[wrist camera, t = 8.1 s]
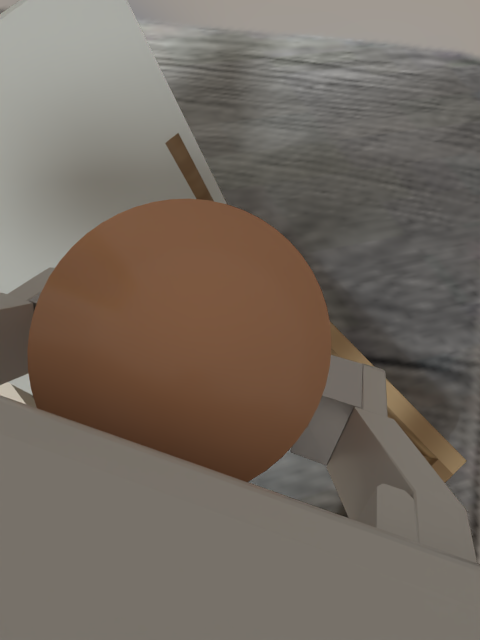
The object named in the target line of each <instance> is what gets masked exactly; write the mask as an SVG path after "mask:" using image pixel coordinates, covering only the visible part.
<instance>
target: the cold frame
mask: <svg viewBox="0 0 480 640" xmlns="http://www.w3.org/2000/svg"><path fill="white" fill-rule="evenodd" d="M165 144H166V146H167V147H168V149H169V151H170V153H171V154H172V156H173V158H174V160H175V162H176V163H177V165H178V167H179V169H180V170H181V172H182V174H183V176H184V178H185V179H186V181H187V183H188V185H189V186H190V188H191V190H192V192H193V194H194V195H195V197H196V199H200V200H209V201H214V200H213V198H212V197H211V195H210V193H209V191H208V189H207V187H206V185H205V183H204V181H203V179H202V177H201V175H200V174H199V172H198V170H197V168H196V166H195V164H194V162H193V160H192V158H191V156H190V154H189V152H188V150H187V149H186V147H185V145H184V143H183V141H182V139H181V137H180V135H179V133H177V134H176V135H175V136H173V137H172V138H171V139H170V140H168V141H167V142H166V143H165ZM330 327H331V355H334V356H337V357H341V358H344V359H348V360H351V361H355V362H358V363H361V364H362V363H363V364H366V365H370V366H373V365H372V364H371V363H370V362H369V361H368V360H367V359H366V358H365V357H364V356H363V355H362V354H361V353H360V352H359V350H358V349H357V348H356V347H355V346H354V345H353V344H352V343H351V342H350V341H349V340H348V339H347V338H346V337H345V336H344V335H343V334H342V333H341V332H340V331H339V330H338V329H337V328H336V327H335V326H334V325H333V324H332V323H331V322H330ZM386 393H387V413H388V417H389V418H392V419H394V420H395V421H396V422H397V424H398V425H399V426H400V427H401V429H402V430H403V431H404V432H405V434H406V435H407V436H408V437H409V439H410V440H411V441H412V443H413V444H414V445H415V446H416V448H417V449H418V450H419V451H420V453H421V454H422V455H423V456H424V458H425V459H426V460H427V461H428V463H429V464H430V465H431V466H432V468H433V469H434V470H435V471H436V473H437V474H438V475H439V477H440V478H441V479H442V480H443V482H444V483H445V482H446V481H447V480H448V479H449V478H450V477H451V476H452V475H453V474H454V473H455V472H456V471H457V470H458V469H459V468H460V467H461V466H462V465H463V464H464V463H465V462H466V460H465V459H464V458H463V457H462V456H461V455H460V454H459V453H458V452H457V451H456V450H455V448H454V447H453V446H452V445H451V444H450V443H449V442H448V441H447V440H446V439H445V438H444V437H443V436H442V435H441V434H440V433H439V432H438V431H437V430H436V429H435V428H434V427H433V426H432V425H431V424H430V423H429V422H428V421H427V420H426V419H425V418H424V417H423V416H422V415H421V414H420V413H419V412H418V411H417V410H416V409H415V408H414V407H413V406H412V405H411V404H410V403H409V402H408V401H407V399H406V398H405V397H404V396H403V395H402V394H401V393H400V392H399V391H398V390H397V389H396V388H395V387H394V386H393V385H392V384H391V383H390V382H389V381H388V380H387V379H386Z"/></svg>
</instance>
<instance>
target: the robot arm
mask: <svg viewBox="0 0 480 640" xmlns="http://www.w3.org/2000/svg"><path fill="white" fill-rule="evenodd" d="M54 269H55V268H53V267H49V268H47V269H46V270H44V271H43V272H41V273H40V274H38V275H36V276H35V277H33V278H32V279H30V280H29V281H27V282H25V283H24V284H22V285H21V286H19V287H18V288H16V289H14V290H13V291H11V292H10V293H8V294H4V293H0V385H2V384H4V383H7V382H9V381H11V380H14V379H16V378H19V377H21V376H24V375H26V374H28V355H27V349H28V339H29V330H30V326H31V322H32V317H33V313H34V310H35V307H36V304H37V302H38V299H39V296H40V294H41V292H42V290H43V288H44V286H45V284H46V282H47V280H48V278H49V276H50V275H51V273H52V272H53V270H54ZM291 452H292V453H294V454H297V455H300V456H302V457H305V458H308V459H311V460H313V461H316V462H319V463H321V464H324V465H327V469H328V472H329V474H330V476H331V479H332V481H333V483H334V485H335V488H336V490H337V492H338V495H339V497H340V499H341V502H342V504H343V506H344V508H345V511H346V513H347V515H348V518H347V517H344V516H341V515H339V514H336V513H333V512H330V511H327V510H324V509H321V508H319V507H316V506H313V505H310V504H307V503H304V502H302V501H299V500H296V499H293V498H290V497H287V496H285V495H282V494H279V493H276V492H273V491H271V490H268V489H265V488H262V487H259V486H256V485H254V484H251V483H248V482H245V481H242V480H239V479H237V478H234V477H231V476H228V475H225V474H223V473H220V472H217V471H214V470H211V469H208V468H206V467H203V466H200V465H197V464H194V463H191V462H189V461H186V460H183V459H180V458H177V457H175V456H172V455H169V454H166V453H163V452H160V451H158V450H155V449H152V448H149V447H146V446H143V445H140V444H138V443H135V442H132V441H129V440H126V439H123V438H120V437H118V436H115V435H112V434H109V433H106V432H103V431H101V430H98V429H95V428H92V427H89V426H86V425H83V424H81V423H78V422H75V421H72V420H69V419H66V418H64V417H61V416H58V415H55V414H52V413H49V412H46V411H44V410H41V409H38V408H35V407H32V406H29V405H27V404H24V403H21V402H18V401H15V400H12V399H10V398H7V397H4V396H1V395H0V640H480V564H478V563H477V560H476V555H475V550H474V545H473V540H472V535H471V531H470V526H469V521H468V516H467V511H466V509H465V508H464V507H463V505H462V504H461V503H460V502H459V500H458V499H457V498H456V497H455V495H454V494H453V493H452V492H451V490H450V489H449V488H448V487H447V485H446V484H445V483H444V482H443V480H442V479H441V478H440V477H439V475H438V474H437V473H436V471H435V470H434V469H433V468H432V466H431V465H430V464H429V463H428V461H427V460H426V459H425V458H424V456H423V455H422V454H421V453H420V451H419V450H418V449H417V448H416V446H415V445H414V444H413V443H412V441H411V440H410V439H409V437H408V436H407V435H406V434H405V432H404V431H403V430H402V429H401V427H400V426H399V425H398V424H397V422H396V421H395V420H394V419H392V418H389V417H388V413H387V393H386V373H385V371H384V369H381V368H377V367H374V366H370V365H366V364H363V363H362V364H361V363H358V362H355V361H351V360H348V359H344V358H341V357H337V356H334V355H331V358H330V367H329V372H328V377H327V382H326V386H325V389H324V391H323V394H322V397H321V400H320V403H319V405H318V407H317V409H316V411H315V413H314V415H313V417H312V419H311V421H310V423H309V424H308V426H307V427H306V429H305V430H304V432H303V433H302V434H301V436H300V437H299V439H298V440H297V441H296V443H295V444H294V445H293V446H292V448H291Z"/></svg>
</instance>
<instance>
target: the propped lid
mask: <svg viewBox="0 0 480 640" xmlns="http://www.w3.org/2000/svg"><path fill="white" fill-rule="evenodd" d="M177 133H179V135H180V137H181V139H182V141H183V143H184V145H185V147H186V149H187V150H188V152H189V154H190V156H191V158H192V160H193V162H194V164H195V166H196V168H197V170H198V172H199V174H200V175H201V177H202V179H203V181H204V183H205V185H206V187H207V189H208V191H209V193H210V195H211V197H212V198H213V200H214V202H219V203H223V204H227V203H226V201H225V199H224V197H223V195H222V193H221V191H220V189H219V187H218V185H217V183H216V181H215V179H214V177H213V174H212V172H211V170H210V168H209V166H208V164H207V162H206V160H205V158H204V156H203V154H202V152H201V150H200V148H199V146H198V144H197V142H196V140H195V138H194V136H193V134H192V132H191V130H190V128H189V126H188V124H187V122H186V120H185V117H184V115H183V113H182V111H181V109H180V107H179V105H178V103H177V101H176V99H175V97H174V95H173V93H172V91H171V89H170V87H169V85H168V83H167V81H166V79H165V77H164V75H163V73H162V71H161V69H160V67H159V65H158V63H157V60H156V58H155V56H154V54H153V52H152V50H151V48H150V46H149V44H148V42H147V40H146V38H145V36H144V34H143V32H142V30H141V28H140V26H139V24H138V22H137V20H136V18H135V16H134V14H133V12H132V10H131V8H130V6H129V4H128V1H127V0H19V1H18V2H17V3H15V4H14V5H12V6H11V7H9V8H8V9H7V10H5V11H4V12H2V13H1V14H0V293H4V294H8V293H10V292H11V291H13V290H14V289H16V288H18V287H19V286H21V285H22V284H24V283H25V282H27V281H29V280H30V279H32V278H33V277H35V276H36V275H38V274H40V273H41V272H43V271H44V270H46V269H47V268H49V267H53V268H55V267H56V266H57V264H58V263H59V262H60V260H61V259H62V258H63V257H64V256H65V255H66V253H67V252H68V251H69V250H70V249H71V248H72V246H74V245H75V244H76V243H77V242H78V241H79V240H80V239H81V238H82V237H83V236H85V235H86V234H87V233H88V232H90V231H91V230H92V229H94V228H95V227H97V226H98V225H99V224H101V223H102V222H104V221H106V220H108V219H110V218H112V217H113V216H115V215H117V214H119V213H122V212H124V211H126V210H129V209H131V208H134V207H137V206H140V205H144V204H148V203H151V202H156V201H163V200H169V199H196V197H195V195H194V194H193V192H192V190H191V188H190V186H189V185H188V183H187V181H186V179H185V178H184V176H183V174H182V172H181V170H180V169H179V167H178V165H177V163H176V162H175V160H174V158H173V156H172V154H171V153H170V151H169V149H168V147H167V146H166V144H165V143H166V142H167V141H168V140H170V139H171V138H172V137H173V136H175V135H176V134H177ZM8 383H10V384H12V385H14V386H16V387H18V388H20V389H22V390H23V391H25V392H27V393H29V394H31V395H33V394H32V391H31V386H30V379H29V373H28V374H26V375H24V376H21V377H19V378H16V379H14V380H11V381H9V382H8Z"/></svg>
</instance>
